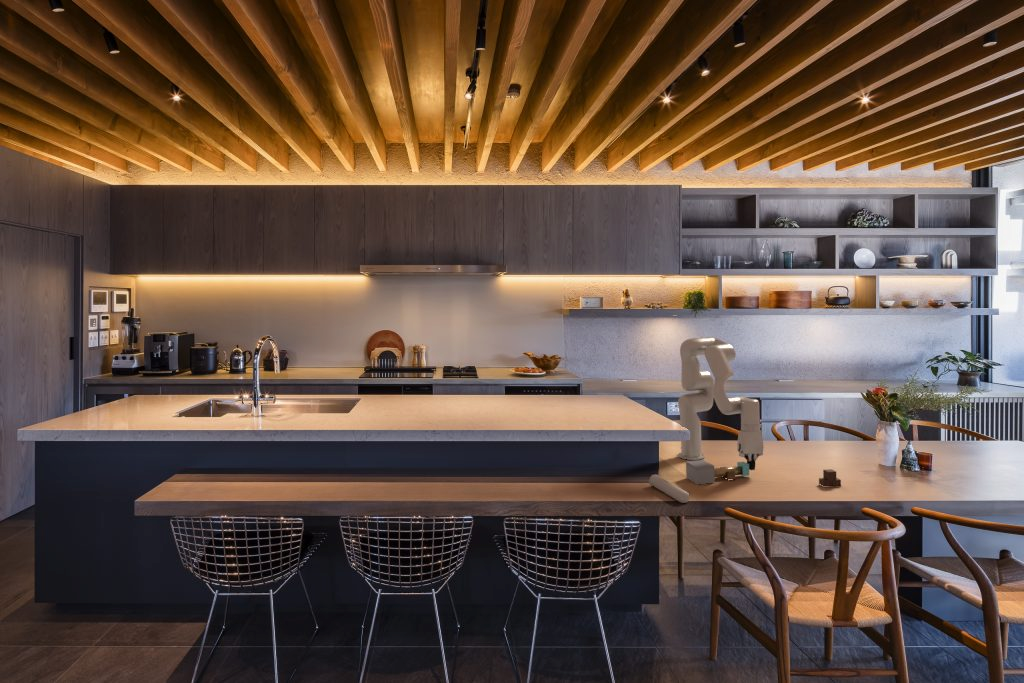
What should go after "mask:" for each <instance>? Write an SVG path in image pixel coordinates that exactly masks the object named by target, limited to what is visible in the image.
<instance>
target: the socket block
mask: <svg viewBox="0 0 1024 683" xmlns="http://www.w3.org/2000/svg"><path fill="white" fill-rule="evenodd" d="M714 469H715V465H714V464H712V463H710V462H708V461H706V460H704V459H700V460H686V461H685V473H686V474H685V477H686V478H685V479H687V478H688V479H689V480H688V479H687V480H688V481H690V480H691V481H692V482H691V481H690V482H691V483H693V482H694V483H693V484H694V485H696V484H697V485H696V486H699V485H698V484H701V485H707V484H706V483H712V484H715V483H714V482H715V481H716V480H715V478H716V477H714Z"/></svg>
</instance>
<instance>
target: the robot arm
mask: <svg viewBox="0 0 1024 683" xmlns="http://www.w3.org/2000/svg"><path fill="white" fill-rule="evenodd" d="M736 355H737V354H736V350H735V348H734V347H733V346H732V345H731V344H730V343H728V342H726V341H724V340H721V339H720V338H717V337H713V336H712V337H711V336H708V337H693V338H688V339H686V340H684V341H683V342H682V343H681V344H680V347H679V356H680V361H681V376H680V377H681V388H682V389H683V390H685V391H687V392H691V393H684V394H682V395H680V397H678V399H677V406H678V411H679V416H680V417H679V418H680V427H681V426H682V427H685V428H687V429H688V430H689V431H690V433H691V438H690V440H686V441H681V440H680V444H681V445H680V449H681V451H680V452H679V453H678V454H677V456H678V458H680V459H681V458H682V460H686V459H687V460H686V461H697V460H704V459H705V457H706V454H704V453H702V425H701V423H702V422H701V419H700V417H699V416H698V413H701V412H707V411H710V410H711V409H712V407H713V406H714V402H715V404H716V406H717V408H718V410H719V411H720V413H721V414H723V415H727V416H730V415H736V414H737V415H738V414H739V415H740V430H739V431H738V436H737V446H736V447H737V452H738V457H740V458H744V459H745V460H746V463H748V464H749V471H755V470H756V461H757V459H758V458H759V457H761V456H763V455H764V437H763V432H762V430H761V428H762V427H763V424H762V423H761V422H760V420H761V419H760V418H761V417H760V414H761V413H760V402H759V400H758V399H756V398H749V397H748V396H747V397H746V396H745V395H744V396H742V395H739V396H729V397H728V395H727V393H726V391H725V384H726V382H727V381H729V380H730V379H731V378H733V376H734V371H733V369H732V367H731V364H730V363H731V362H733V361H734V360H735V358H736ZM698 356H704V357H705V359H706V361H707V364H708V366H709V368H710V371H711V372H709V371H708V370H704V369H703V370H700V369H701V368H700V361H699V358H698ZM711 373H712V374H711ZM695 391H698V392H695Z"/></svg>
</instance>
